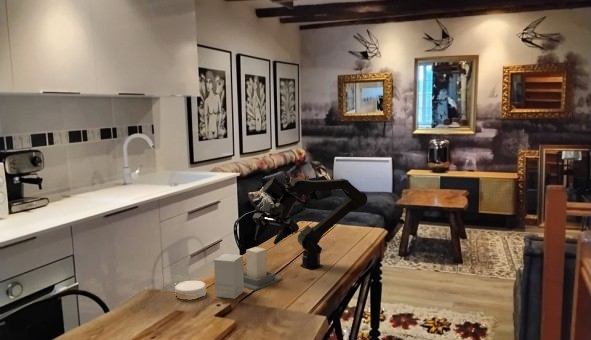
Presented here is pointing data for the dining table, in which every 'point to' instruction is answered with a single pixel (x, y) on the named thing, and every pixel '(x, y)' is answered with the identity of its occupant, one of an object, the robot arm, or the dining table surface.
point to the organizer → (260, 281)
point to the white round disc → (191, 288)
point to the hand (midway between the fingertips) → (264, 241)
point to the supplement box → (229, 276)
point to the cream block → (256, 262)
